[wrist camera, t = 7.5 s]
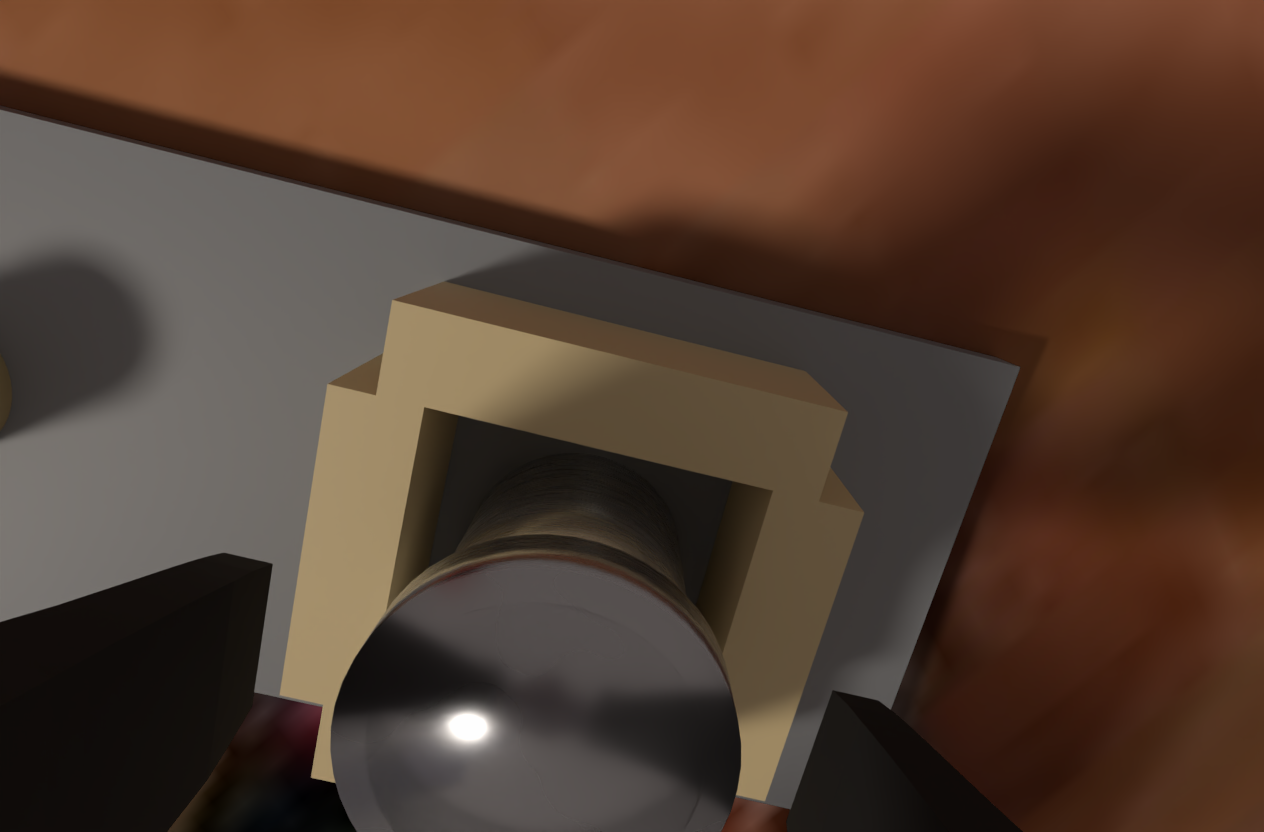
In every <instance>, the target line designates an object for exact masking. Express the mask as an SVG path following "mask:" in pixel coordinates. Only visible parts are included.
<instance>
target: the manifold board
mask: <svg viewBox="0 0 1264 832" xmlns="http://www.w3.org/2000/svg"><path fill="white" fill-rule="evenodd" d="M1019 370H1020V367H1019V366H1016V365H1014V364H1012V363H1009V362H1007V361H1004V360H1002V359H999V358H997V357H993V356H989V355H986V354H982V353H978V352H974V351H970V350H966V349H962V348H958V347H954V346H950V345H946V344H942V343H938V342H934V341H930V340H926V339H922V338H918V337H914V336H910V335H906V334H902V333H898V332H894V331H891V330H887V329H883V328H879V327H875V326H871V325H867V324H863V323H859V322H855V321H851V320H847V319H843V318H839V317H835V316H831V315H827V314H823V313H819V312H815V311H811V310H807V309H803V308H799V307H796V306H792V305H788V304H784V303H780V302H776V301H772V300H768V299H764V298H760V297H756V296H752V295H748V294H744V293H740V292H736V291H732V290H728V289H724V288H720V287H716V286H712V285H708V284H704V283H701V282H697V281H693V280H689V279H685V278H681V277H677V276H673V275H669V274H665V273H661V272H657V271H653V270H649V269H645V268H641V267H637V266H633V265H629V264H625V263H621V262H617V261H613V260H609V259H606V258H602V257H598V256H594V255H590V254H586V253H582V252H578V251H574V250H570V249H566V248H562V247H558V246H554V245H550V244H546V243H542V242H538V241H534V240H530V239H526V238H522V237H518V236H514V235H511V234H507V233H503V232H499V231H495V230H491V229H487V228H483V227H479V226H475V225H471V224H467V223H463V222H459V221H455V220H451V219H447V218H443V217H439V216H435V215H431V214H427V213H423V212H419V211H416V210H412V209H408V208H404V207H400V206H396V205H392V204H388V203H384V202H380V201H376V200H372V199H368V198H364V197H360V196H356V195H352V194H348V193H344V192H340V191H336V190H332V189H328V188H324V187H321V186H317V185H313V184H309V183H305V182H301V181H297V180H293V179H289V178H285V177H281V176H277V175H273V174H269V173H265V172H261V171H257V170H253V169H249V168H245V167H241V166H237V165H233V164H229V163H226V162H222V161H218V160H214V159H210V158H206V157H202V156H198V155H194V154H190V153H186V152H182V151H178V150H174V149H170V148H166V147H162V146H158V145H154V144H150V143H146V142H142V141H138V140H134V139H131V138H127V137H123V136H119V135H115V134H111V133H107V132H103V131H99V130H95V129H91V128H87V127H83V126H79V125H75V124H71V123H67V122H63V121H59V120H55V119H51V118H47V117H43V116H39V115H36V114H32V113H28V112H24V111H20V110H16V109H12V108H8V107H4V106H0V622H2V621H5V620H9V619H12V618H15V617H19V616H22V615H26V614H29V613H32V612H36V611H39V610H43V609H46V608H49V607H53V606H56V605H59V604H62V603H65V602H68V601H71V600H74V599H78V598H81V597H84V596H87V595H90V594H93V593H96V592H99V591H102V590H105V589H108V588H111V587H114V586H117V585H120V584H123V583H126V582H129V581H132V580H135V579H138V578H141V577H144V576H147V575H150V574H153V573H156V572H159V571H162V570H165V569H168V568H171V567H174V566H177V565H180V564H183V563H187V562H190V561H193V560H196V559H200V558H203V557H207V556H211V555H215V554H220V553H228V554H233V555H237V556H241V557H246V558H250V559H255V560H259V561H264V562H268V563H272V564H273V567H272V573H271V580H270V587H269V594H268V601H267V608H266V615H265V621H264V628H263V635H262V642H261V649H260V656H259V663H258V669H257V676H256V683H255V690H254V692H257V693H261V694H266V695H270V696H275V697H279V698H284V699H289V700H293V701H298V702H302V703H307V704H311V705H316V706H321V707H323V709H322V715H321V721H320V727H319V733H318V738H317V744H316V750H315V756H314V762H313V768H312V774H311V778H315V779H320V780H324V781H329V782H334V783H336V782H335V779H334V775H333V768H332V760H331V752H330V743H331V724H332V718H333V712H334V706H335V702H336V699H337V696H338V693H339V690H340V687H341V684H342V681H343V679H344V677H345V676H346V674H347V672H348V670H349V668H350V666H351V664H352V662H353V660H354V658H355V657H356V655H357V654H358V652H359V651H360V649H361V648H362V646H363V645H364V643H365V642H366V640H367V638H368V637H369V635H370V634H371V632H372V631H373V629H374V628H375V626H376V625H377V623H378V622H379V620H380V619H381V617H382V616H383V614H384V613H385V612H386V610H387V609H388V607H389V606H390V605H391V603H392V602H393V600H394V599H395V598H396V597H397V596H398V595H399V594H400V593H401V592H402V591H403V590H404V588H405V587H406V586H407V585H408V584H409V583H410V582H411V581H413V580H414V579H415V578H416V577H418V576H419V575H420V574H421V573H423V572H424V571H425V570H427V569H428V568H429V567H431V566H432V565H434V564H436V563H437V562H439V561H441V560H443V559H444V558H446V557H448V556H449V555H451V554H454V552H455V550H456V549H457V547H458V545H459V543H460V542H461V540H462V538H463V536H464V534H465V533H466V531H467V529H468V527H469V525H470V524H471V522H472V520H473V518H474V517H475V515H476V513H477V511H478V509H479V508H480V506H481V504H482V502H483V500H484V499H485V498H486V496H487V495H488V494H489V492H490V491H491V489H492V488H493V487H494V486H495V485H496V484H497V483H498V482H499V481H500V480H501V479H502V478H504V477H505V476H506V475H507V474H509V473H510V472H511V471H513V470H515V469H516V468H518V467H520V466H521V465H523V464H525V463H528V462H530V461H532V460H535V459H538V458H541V457H545V456H548V455H554V454H561V453H583V454H592V455H596V456H600V457H605V458H608V459H610V460H613V461H616V462H618V463H620V464H622V465H624V466H626V467H628V468H630V469H631V470H633V471H634V472H636V473H637V474H639V475H640V476H641V477H643V478H644V479H645V480H646V481H647V482H648V483H649V484H650V485H651V486H652V487H653V488H654V489H655V490H656V491H657V493H658V494H659V495H660V496H661V498H662V499H663V501H664V502H665V504H666V505H667V507H668V509H669V511H670V513H671V516H672V518H673V520H674V523H675V527H676V530H677V534H678V541H679V548H680V555H681V562H682V569H683V577H684V584H685V591H686V595H687V597H688V598H689V599H690V600H691V601H692V602H693V604H694V605H695V606H696V607H697V608H698V609H699V611H700V612H701V614H702V615H703V617H704V618H705V620H706V621H707V623H708V625H709V626H710V628H711V629H712V631H713V633H714V635H715V637H716V640H717V642H718V644H719V646H720V648H721V650H722V654H723V657H724V660H725V664H726V667H727V671H728V675H729V679H730V684H731V689H732V694H733V699H734V703H735V708H736V713H737V718H738V724H739V731H740V738H741V770H740V777H739V783H738V789H737V793H736V796H735V797H737V798H742V799H746V800H751V801H755V802H760V803H765V804H769V805H774V806H778V807H783V808H787V809H791V807H792V804H793V801H794V798H795V795H796V792H797V790H798V787H799V784H800V781H801V778H802V775H803V773H804V770H805V767H806V764H807V761H808V758H809V756H810V753H811V750H812V747H813V744H814V742H815V739H816V736H817V733H818V730H819V727H820V725H821V722H822V719H823V716H824V713H825V710H826V708H827V705H828V702H829V699H830V696H831V693H832V691H833V690H834V691H839V692H843V693H848V694H852V695H857V696H861V697H865V698H870V699H874V700H878V701H880V702H881V703H882V704H884V705H885V706H886V707H888V708H889V709H890V710H891V708H892V705H893V702H894V700H895V697H896V694H897V692H898V689H899V687H900V684H901V681H902V679H903V676H904V673H905V671H906V668H907V665H908V663H909V660H910V658H911V655H912V652H913V650H914V647H915V644H916V642H917V639H918V636H919V634H920V631H921V629H922V626H923V623H924V621H925V618H926V615H927V613H928V610H929V607H930V605H931V602H932V599H933V597H934V594H935V592H936V589H937V586H938V584H939V581H940V578H941V576H942V573H943V570H944V568H945V565H946V563H947V560H948V557H949V555H950V552H951V549H952V547H953V544H954V541H955V539H956V536H957V533H958V531H959V528H960V526H961V523H962V520H963V518H964V515H965V512H966V510H967V507H968V504H969V502H970V499H971V497H972V494H973V491H974V489H975V486H976V483H977V481H978V478H979V475H980V473H981V470H982V467H983V465H984V462H985V460H986V457H987V454H988V452H989V449H990V446H991V444H992V441H993V438H994V436H995V433H996V431H997V428H998V425H999V423H1000V420H1001V417H1002V415H1003V412H1004V409H1005V407H1006V404H1007V401H1008V399H1009V396H1010V394H1011V391H1012V388H1013V386H1014V383H1015V380H1016V378H1017V375H1018V372H1019Z"/></svg>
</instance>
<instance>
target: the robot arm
mask: <svg viewBox="0 0 1264 832" xmlns="http://www.w3.org/2000/svg"><path fill="white" fill-rule="evenodd" d="M272 567H273V564H272V563H268V562H264V561H259V560H255V559H250V558H246V557H241V556H237V555H233V554H228V553H220V554H215V555H211V556H207V557H203V558H200V559H196V560H193V561H190V562H187V563H183V564H180V565H177V566H174V567H171V568H168V569H165V570H162V571H159V572H156V573H153V574H150V575H147V576H144V577H141V578H138V579H135V580H132V581H129V582H126V583H123V584H120V585H117V586H114V587H111V588H108V589H105V590H102V591H99V592H96V593H93V594H90V595H87V596H84V597H81V598H78V599H74V600H71V601H68V602H65V603H62V604H59V605H56V606H53V607H49V608H46V609H43V610H39V611H36V612H32V613H29V614H26V615H22V616H19V617H15V618H12V619H9V620H5V621H2V622H0V832H167V831H168V830H169V828H170V827H171V826H172V824H173V823H174V822H175V821H176V819H177V818H178V817H179V816H180V814H181V813H182V812H183V810H184V809H185V808H186V807H187V805H188V804H189V803H190V801H191V800H192V799H193V798H194V796H195V795H196V794H197V792H198V791H199V790H200V789H201V787H202V786H203V785H204V783H205V782H206V781H207V779H208V778H209V776H210V775H211V773H212V771H213V770H214V768H215V767H216V765H217V763H218V762H219V760H220V759H221V757H222V756H223V754H224V752H225V751H226V749H227V748H228V746H229V744H230V743H231V741H232V739H233V737H234V736H235V734H236V732H237V731H238V729H239V727H240V726H241V724H242V722H243V721H244V719H245V717H246V715H247V714H248V712H249V710H250V709H251V707H252V704H253V697H254V690H255V683H256V676H257V669H258V663H259V656H260V649H261V642H262V635H263V628H264V621H265V615H266V608H267V601H268V594H269V587H270V580H271V573H272ZM786 823H787V832H1023V831H1021V830H1020V829H1019V828H1018V827H1017V826H1016V825H1015V824H1014V823H1013V822H1011V821H1010V820H1009V819H1008V818H1007V817H1006V816H1005V815H1004V814H1003V813H1002V812H1001V811H1000V810H998V809H997V808H996V807H995V806H994V805H993V804H992V803H991V802H990V801H989V800H988V799H987V798H986V797H984V796H983V795H982V794H981V793H980V792H979V791H978V790H977V789H976V788H975V787H974V786H973V785H972V784H971V783H970V782H968V781H967V780H966V779H965V778H964V777H963V776H962V775H961V774H960V773H959V772H958V771H957V770H956V769H955V768H954V767H953V766H952V765H950V764H949V763H948V762H947V761H946V760H945V759H944V758H943V757H942V756H941V755H940V754H939V753H938V752H937V751H936V750H935V749H934V748H933V747H931V746H930V745H929V744H928V743H927V742H926V741H925V740H924V739H923V738H922V737H921V736H920V735H919V734H917V733H916V732H915V731H914V730H913V729H912V728H911V727H910V726H909V725H908V724H907V723H905V722H904V721H903V720H902V719H901V718H900V717H899V716H897V715H896V714H895V713H894V712H893V711H891V710H890V709H889V708H888V707H886V706H885V705H884V704H882V703H881V702H880V701H878V700H874V699H870V698H865V697H861V696H857V695H852V694H848V693H843V692H839V691H834V690H833V691H832V693H831V696H830V699H829V702H828V705H827V708H826V710H825V713H824V716H823V719H822V722H821V725H820V727H819V730H818V733H817V736H816V739H815V742H814V744H813V747H812V750H811V753H810V756H809V758H808V761H807V764H806V767H805V770H804V773H803V775H802V778H801V781H800V784H799V787H798V790H797V792H796V795H795V798H794V801H793V804H792V807H791V809H790V812H789V815H788V818H787V821H786Z"/></svg>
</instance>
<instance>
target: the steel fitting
mask: <svg viewBox="0 0 1264 832" xmlns="http://www.w3.org/2000/svg"><path fill="white" fill-rule="evenodd" d="M330 752H331V760H332V768H333V775H334V779H335V782H336V786H337V789H338V793H339V796H340V799H341V801H342V804H343V806H344V808H345V810H346V813H347V815H348V817H349V819H350V821H351V823H352V824H353V826H354V827H355V829H356V831H357V832H721V831H722V828H723V826H724V824H725V822H726V820H727V818H728V816H729V814H730V812H731V809H732V805H733V802H734V799H735V796H736V793H737V789H738V783H739V777H740V770H741V738H740V731H739V724H738V718H737V713H736V708H735V703H734V699H733V694H732V689H731V684H730V679H729V675H728V671H727V667H726V664H725V660H724V657H723V654H722V650H721V648H720V646H719V644H718V642H717V640H716V637H715V635H714V633H713V631H712V629H711V628H710V626H709V625H708V623H707V621H706V620H705V618H704V617H703V615H702V614H701V612H700V611H699V609H698V608H697V607H696V606H695V605H694V604H693V602H692V601H691V600H690V599H689V598H688V597H687V595H686V591H685V584H684V577H683V569H682V562H681V555H680V548H679V541H678V534H677V530H676V527H675V523H674V520H673V518H672V516H671V513H670V511H669V509H668V507H667V505H666V504H665V502H664V501H663V499H662V498H661V496H660V495H659V494H658V493H657V491H656V490H655V489H654V488H653V487H652V486H651V485H650V484H649V483H648V482H647V481H646V480H645V479H644V478H643V477H641V476H640V475H639V474H637V473H636V472H634V471H633V470H631V469H630V468H628V467H626V466H624V465H622V464H620V463H618V462H616V461H613V460H610V459H608V458H605V457H600V456H596V455H592V454H583V453H561V454H554V455H548V456H545V457H541V458H538V459H535V460H532V461H530V462H528V463H525V464H523V465H521V466H520V467H518V468H516V469H515V470H513V471H511V472H510V473H509V474H507V475H506V476H505V477H504V478H502V479H501V480H500V481H499V482H498V483H497V484H496V485H495V486H494V487H493V488H492V489H491V491H490V492H489V494H488V495H487V496H486V498H485V499H484V500H483V502H482V504H481V506H480V508H479V509H478V511H477V513H476V515H475V517H474V518H473V520H472V522H471V524H470V525H469V527H468V529H467V531H466V533H465V534H464V536H463V538H462V540H461V542H460V543H459V545H458V547H457V549H456V550H455V552H454V554H451V555H449V556H448V557H446V558H444V559H443V560H441V561H439V562H437V563H436V564H434V565H432V566H431V567H429V568H428V569H427V570H425V571H424V572H423V573H421V574H420V575H419V576H418V577H416V578H415V579H414V580H413V581H411V582H410V583H409V584H408V585H407V586H406V587H405V588H404V590H403V591H402V592H401V593H400V594H399V595H398V596H397V597H396V598H395V599H394V600H393V602H392V603H391V605H390V606H389V607H388V609H387V610H386V612H385V613H384V614H383V616H382V617H381V619H380V620H379V622H378V623H377V625H376V626H375V628H374V629H373V631H372V632H371V634H370V635H369V637H368V638H367V640H366V642H365V643H364V645H363V646H362V648H361V649H360V651H359V652H358V654H357V655H356V657H355V658H354V660H353V662H352V664H351V666H350V668H349V670H348V672H347V674H346V676H345V677H344V679H343V681H342V684H341V687H340V690H339V693H338V696H337V699H336V702H335V706H334V712H333V718H332V724H331V743H330Z"/></svg>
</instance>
